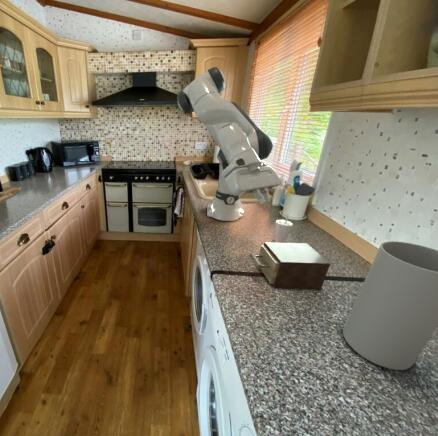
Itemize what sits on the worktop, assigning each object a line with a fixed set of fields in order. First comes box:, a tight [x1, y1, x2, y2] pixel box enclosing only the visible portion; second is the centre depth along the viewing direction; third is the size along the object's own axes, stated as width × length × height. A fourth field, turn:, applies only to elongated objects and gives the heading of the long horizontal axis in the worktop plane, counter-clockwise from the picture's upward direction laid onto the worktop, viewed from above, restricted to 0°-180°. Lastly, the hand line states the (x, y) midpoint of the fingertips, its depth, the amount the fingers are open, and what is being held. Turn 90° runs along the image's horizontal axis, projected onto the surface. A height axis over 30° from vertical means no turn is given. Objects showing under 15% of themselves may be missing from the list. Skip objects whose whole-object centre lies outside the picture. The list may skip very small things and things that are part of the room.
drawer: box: [248, 244, 280, 285], centre depth 81 cm, size 18×11×8 cm, turn 88°
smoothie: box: [273, 212, 294, 243], centre depth 102 cm, size 6×6×14 cm
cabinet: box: [263, 241, 331, 290], centre depth 81 cm, size 15×13×10 cm
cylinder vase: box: [342, 240, 438, 371], centre depth 53 cm, size 12×12×25 cm
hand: (266, 202), depth 75 cm, fingers closed
